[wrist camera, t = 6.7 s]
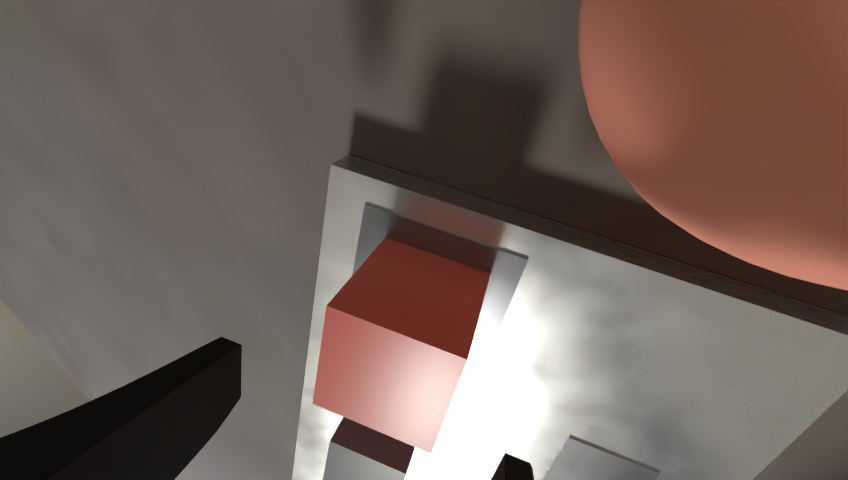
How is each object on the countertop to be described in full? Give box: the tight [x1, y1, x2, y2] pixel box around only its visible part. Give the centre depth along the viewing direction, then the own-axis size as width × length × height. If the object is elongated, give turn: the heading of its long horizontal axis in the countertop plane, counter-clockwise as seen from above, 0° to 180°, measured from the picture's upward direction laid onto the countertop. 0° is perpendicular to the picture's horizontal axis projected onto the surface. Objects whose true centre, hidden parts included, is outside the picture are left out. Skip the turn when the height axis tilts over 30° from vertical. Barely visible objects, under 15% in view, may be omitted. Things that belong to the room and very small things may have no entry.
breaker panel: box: [292, 155, 848, 480], centre depth 19 cm, size 18×24×2 cm
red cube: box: [312, 237, 491, 454], centre depth 14 cm, size 4×4×4 cm
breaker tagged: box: [323, 417, 415, 480], centre depth 17 cm, size 3×4×4 cm
